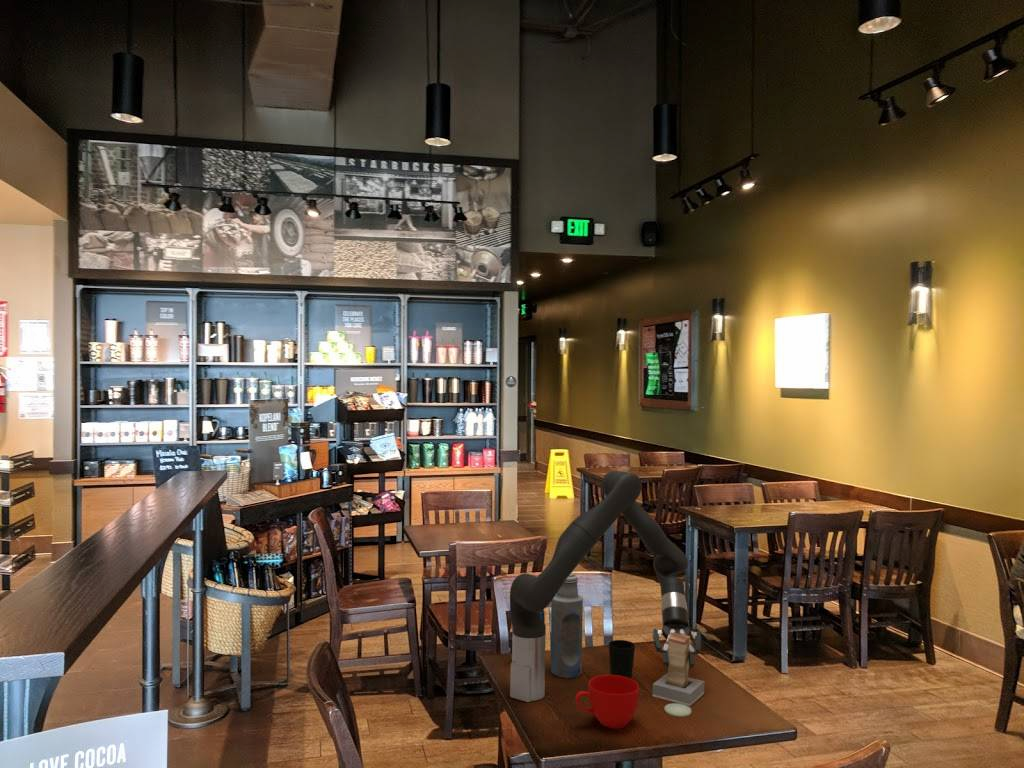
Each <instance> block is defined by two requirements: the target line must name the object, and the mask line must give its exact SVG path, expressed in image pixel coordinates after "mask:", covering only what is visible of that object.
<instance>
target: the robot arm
mask: <svg viewBox="0 0 1024 768" xmlns="http://www.w3.org/2000/svg"><path fill="white" fill-rule="evenodd" d="M642 488H643V483H642V480H641V478H640V476H638V475H637V474H635V473H633V472H629V471H622V470H611V471H608V472H607V473H606V474H604V476H603V478H602V481H601V490H602V492H603V494H604V496H605V497H604V499H603V500H601V501H600V502H599V503H598V504H597V505H595V506H594V507H592V508H590V509H588V510H587V511H585V512H584V513H582V514H580V515H579V516H577V517H576V518H575V519H574V520H573V521H572V522H570V524H569V525H567V527H566V528H565V530H564V531H563V532H562V533H561V534H560V536H559V538H558V540H557V543H556V546H555V549H554V553H553V556H552V558H551V560H550V562H549V563H548V564H547V565H546V567H545V568H544V569H542V571H541V573H540V574H538V575H537V576H536V575H533V574H531V573H521V574H518V575H517V576H516V577H515V578H514V579H513V581H512V583H511V586H510V590H509V591H510V592H509V617H510V623H511V626H513V649H512V648H511V663H510V675H509V677H510V681H509V682H510V683H509V684H510V685H509V696H510V698H513V699H516V700H518V701H523V702H526V703H530V702H534V701H539V700H542V699H544V697H545V689H546V688H545V687H546V686H545V684H546V682H545V680H546V679H545V678H546V677H545V676H546V675H545V673H546V672H545V671H546V635H547V634H546V633H547V632H546V629H547V627H546V622H545V623H544V621H543V620H542V618H541V616H540V613H539V612H540V611H542V610H544V611H545V609H546V608H547V607H548V606H549V605H550V604H551V601H552V599H553V598H554V597H555V595H556V594H557V592H558V591H559V589H560V588H561V586H562V585H563V583H564V582H565V580H566V579H567V578H568V576H569V575H570V574H571V573H573V572H574V570H576V568H577V567H578V565H579V564H580V563H581V562H582V561H583V560H584V558H585V557H586V556H587V555H588V554H589V552H590V551H592V549H593V548H594V547H595V545H596V544H597V543H598V542H599V540H600V539H601V538H602V536H604V534H605V533H606V532H607V531H608V530H609V528H611V526H612V525H613V524H614V523H615V522H616V521H617V520H618V518H619V517H620V516H621V515H622V516H623V517H624V518H625V519H626V521H627V522H628V523H629V524H630V526H631V527H632V528H633V530H634V531H635V532H636V533H637V536H638V537H639V539H640V540H641V541H642V543H643V545H644V546H645V547H646V549H647V551H648V552H649V553H650V554H652V555H656V556H655V557H654V558H653V563H652V565H653V569H654V572H655V575H656V576H657V579H658V583H659V586H660V594H661V595H660V596H661V602H660V603H661V604H660V606H661V610H660V611H661V612H660V613H661V618H662V629H657V628H653V631H652V638H653V639H652V640H653V642H654V649H655V651H656V652H657V653H661V654H662V664H663V665H664V666H665V667H666V668H668V666H669V656H668V649H669V641H668V638H669V637H670V636H671V635H672V634H673V633H678V634H682V635H687V636H690V637H691V638H693V641H694V642H695V643H694V644H695V645H694V647H693V645H692V643H691V641H690V640H689V669H693V668H694V667H695V663H696V660H695V659H696V658H695V656H696V655H699V654H700V651H701V647H702V646H701V645H702V644H701V643H702V642H701V641H702V640H701V639H702V632H701V631H699V630H698V631H692V630H691V628H690V624H689V623H690V622H689V613H688V604H687V600H686V594H685V593H686V592H685V591H686V590H685V584H684V581H683V580H682V579H681V578H680V577H677V576H673V575H677V574H678V575H679V574H681V573H684V572H685V571H687V569H688V567H689V561H688V558H687V556H686V555H685V553H684V552H683V551H682V550H681V549H680V548H679V547H678V546H677V545H676V544H675V543H673V542H672V541H671V540H670V539H669V538H668V537H667V535H666V534H665V532H664V531H663V529H662V527H661V526H660V524H659V523H658V522H657V521H656V520H655V519H654V517H652V515H650V514H649V513H648V512H647V511H646V510H645V509H643V507H642V506H641V505H640V504H639V503H638V502H637V499H638V498H639V496H640V494H641V493H642ZM661 636H662V637H663V638H664V639H665V640H666V641H665V643H664V645H663V646H662V645H661V641H660V638H661Z"/></svg>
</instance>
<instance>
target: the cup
mask: <svg viewBox="0 0 1024 768" xmlns="http://www.w3.org/2000/svg"><path fill="white" fill-rule="evenodd" d="M635 649H636V645H635V643H634V642H632V641H630V640H625V639H614V640H611V641H609V642H608V654H609V669H610V675H619V676H624V677H627V678H630V679H632V678H633V668H634V659H635V651H636V650H635ZM632 680H633V679H632Z"/></svg>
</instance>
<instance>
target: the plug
mask: <svg viewBox="0 0 1024 768" xmlns="http://www.w3.org/2000/svg"><path fill="white" fill-rule="evenodd" d="M690 640H691V636H687V635H682V634H678V633H673V634H672V635H671V636H670V637H669V638H668V641H669V649H668V656H669V666H668V667H667V673H668V680H667V684H669V685H673V686H677V687H680V688H685V686H686V685H687V684H688V677H689V669H690V667H689V641H690Z"/></svg>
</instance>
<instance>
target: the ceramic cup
mask: <svg viewBox="0 0 1024 768" xmlns="http://www.w3.org/2000/svg"><path fill="white" fill-rule="evenodd" d="M584 695H585V696H587V697H588V698H589V703H590V707H591V708H587V707H584V706H582V705H581V703H580V697H581V696H584ZM639 696H640V685H639V683H638V682H637V681H636V680H634V679H630V678H627V677H624V676H619V675H611V674H603V675H597V676H594V677H592V678H591V679H590V680H589V681H588V691H586V690H585V691H584V690H581V691H578V692H577V694H576V696H575V704H576V706H577V707H578V708H579V709H580V710H582V711H584V712H586V713H589V714H593V715H594V716H595V718H596V720H598V721H599V722H600V723H599V724H600V725H602V726H603V725H604V726H603V727H605V726H606V727H605V728H607V727H609V729H612V728H614V730H615V729H616V728H619V729H622V728H625V727H626V726H627V725H628V723H630V721H631V720H632V719H633V717H634V716H635V714H636V711H637V708H638V705H639ZM616 730H617V729H616Z"/></svg>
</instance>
